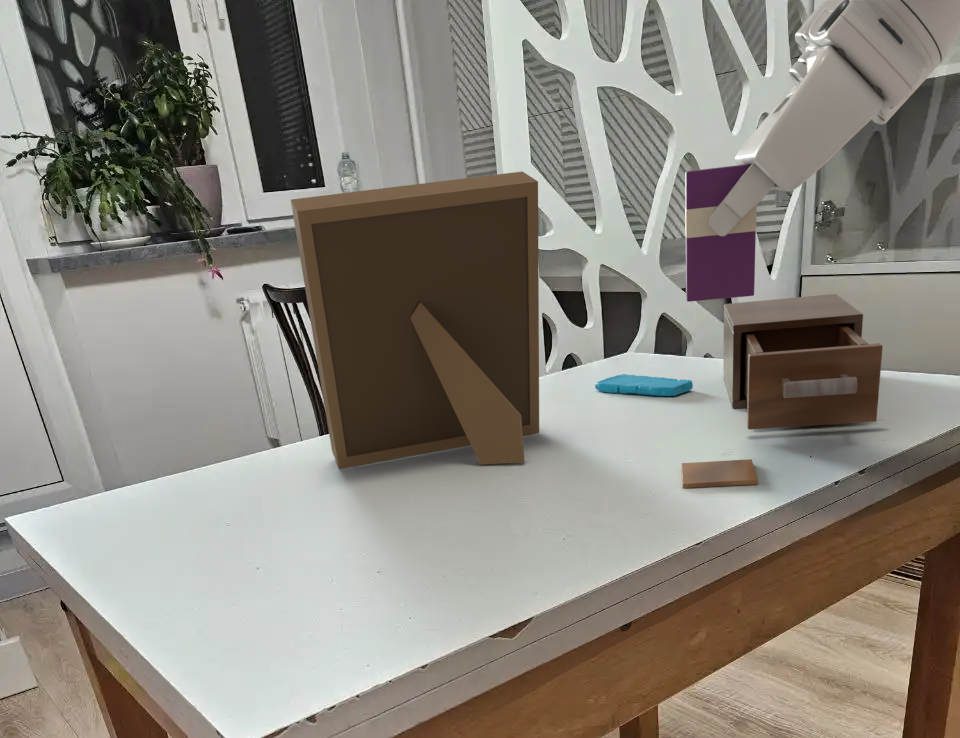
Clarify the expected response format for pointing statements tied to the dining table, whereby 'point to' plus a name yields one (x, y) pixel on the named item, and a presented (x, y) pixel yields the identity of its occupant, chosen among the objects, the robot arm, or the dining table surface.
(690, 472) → the coaster
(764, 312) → the cabinet
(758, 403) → the drawer
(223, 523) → the dining table surface
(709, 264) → the snack carton
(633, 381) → the sponge
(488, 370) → the photo frame
